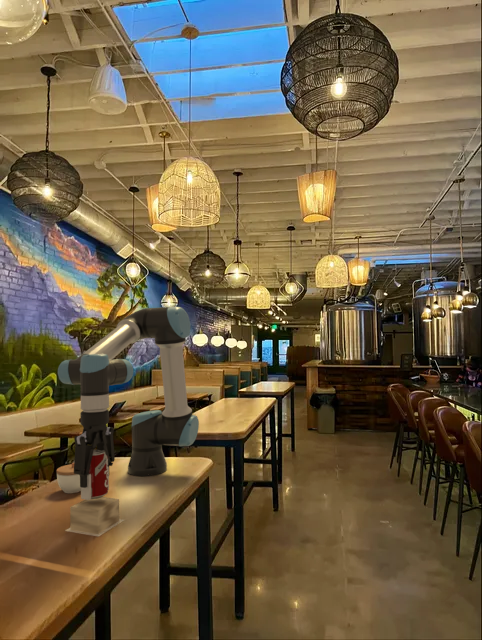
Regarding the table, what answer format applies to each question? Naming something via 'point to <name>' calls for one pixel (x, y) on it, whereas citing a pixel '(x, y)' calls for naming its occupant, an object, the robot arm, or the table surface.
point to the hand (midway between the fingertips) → (95, 494)
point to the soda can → (99, 474)
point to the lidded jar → (68, 479)
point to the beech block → (94, 515)
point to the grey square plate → (93, 533)
